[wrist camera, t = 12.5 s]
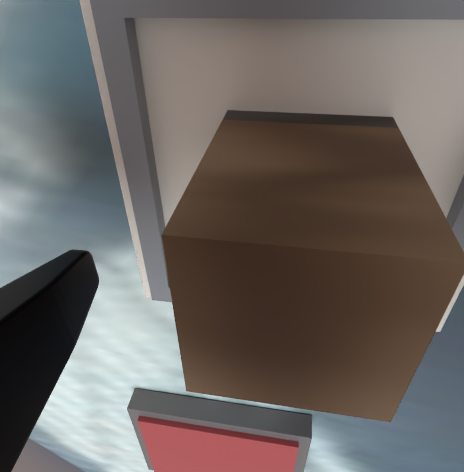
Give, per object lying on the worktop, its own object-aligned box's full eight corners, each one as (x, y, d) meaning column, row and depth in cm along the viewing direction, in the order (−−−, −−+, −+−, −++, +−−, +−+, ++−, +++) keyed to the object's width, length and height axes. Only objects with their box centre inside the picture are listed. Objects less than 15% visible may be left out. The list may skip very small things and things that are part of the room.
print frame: (634, -67, 7) (664, -69, 7) (438, 328, 14) (444, 344, 14) (71, -54, 9) (53, -55, 8) (146, 294, 16) (140, 308, 16)
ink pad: (311, 415, 20) (311, 444, 19) (297, 476, 25) (297, 502, 24) (135, 388, 21) (124, 413, 20) (154, 450, 26) (147, 474, 25)
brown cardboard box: (393, 117, 10) (469, 263, 5) (360, 248, 13) (390, 422, 8) (227, 110, 11) (161, 234, 6) (230, 236, 13) (186, 391, 9)
